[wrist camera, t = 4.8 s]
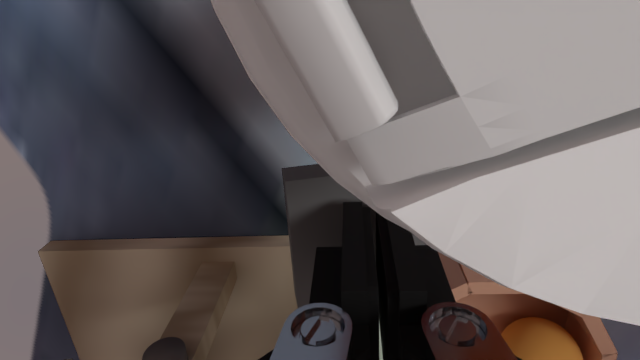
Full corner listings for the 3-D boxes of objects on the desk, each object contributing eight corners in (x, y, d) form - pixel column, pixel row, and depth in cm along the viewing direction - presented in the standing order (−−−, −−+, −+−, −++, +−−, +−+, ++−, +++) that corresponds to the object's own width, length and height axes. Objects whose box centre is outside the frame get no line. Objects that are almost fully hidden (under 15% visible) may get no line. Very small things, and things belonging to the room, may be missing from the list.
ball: (611, 351, 17) (531, 364, 17) (594, 411, 19) (519, 425, 18) (555, 296, 20) (486, 306, 20) (544, 351, 22) (479, 361, 22)
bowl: (591, 234, 19) (640, 280, 16) (554, 392, 23) (587, 454, 20) (368, 238, 20) (372, 283, 17) (370, 391, 24) (374, 450, 21)
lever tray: (384, 119, 16) (450, 169, 11) (384, 390, 22) (427, 505, 17) (-111, 171, 14) (-320, 267, 9) (35, 460, 20) (-37, 619, 14)
